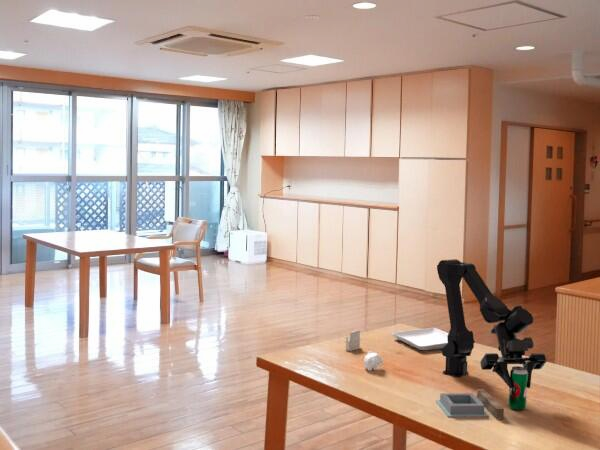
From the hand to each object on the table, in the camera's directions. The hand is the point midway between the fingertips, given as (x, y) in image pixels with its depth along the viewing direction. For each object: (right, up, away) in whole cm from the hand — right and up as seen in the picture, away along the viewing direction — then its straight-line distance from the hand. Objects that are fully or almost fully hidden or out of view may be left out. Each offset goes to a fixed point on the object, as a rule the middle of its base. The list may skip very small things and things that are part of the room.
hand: (520, 387), depth 195 cm
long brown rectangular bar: (-9, -6, +1) cm, 11 cm away
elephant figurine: (-40, -3, +36) cm, 53 cm away
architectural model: (-45, 0, +60) cm, 75 cm away
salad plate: (-14, 0, +70) cm, 71 cm away
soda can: (0, -7, +2) cm, 7 cm away
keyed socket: (-17, -6, +1) cm, 18 cm away
